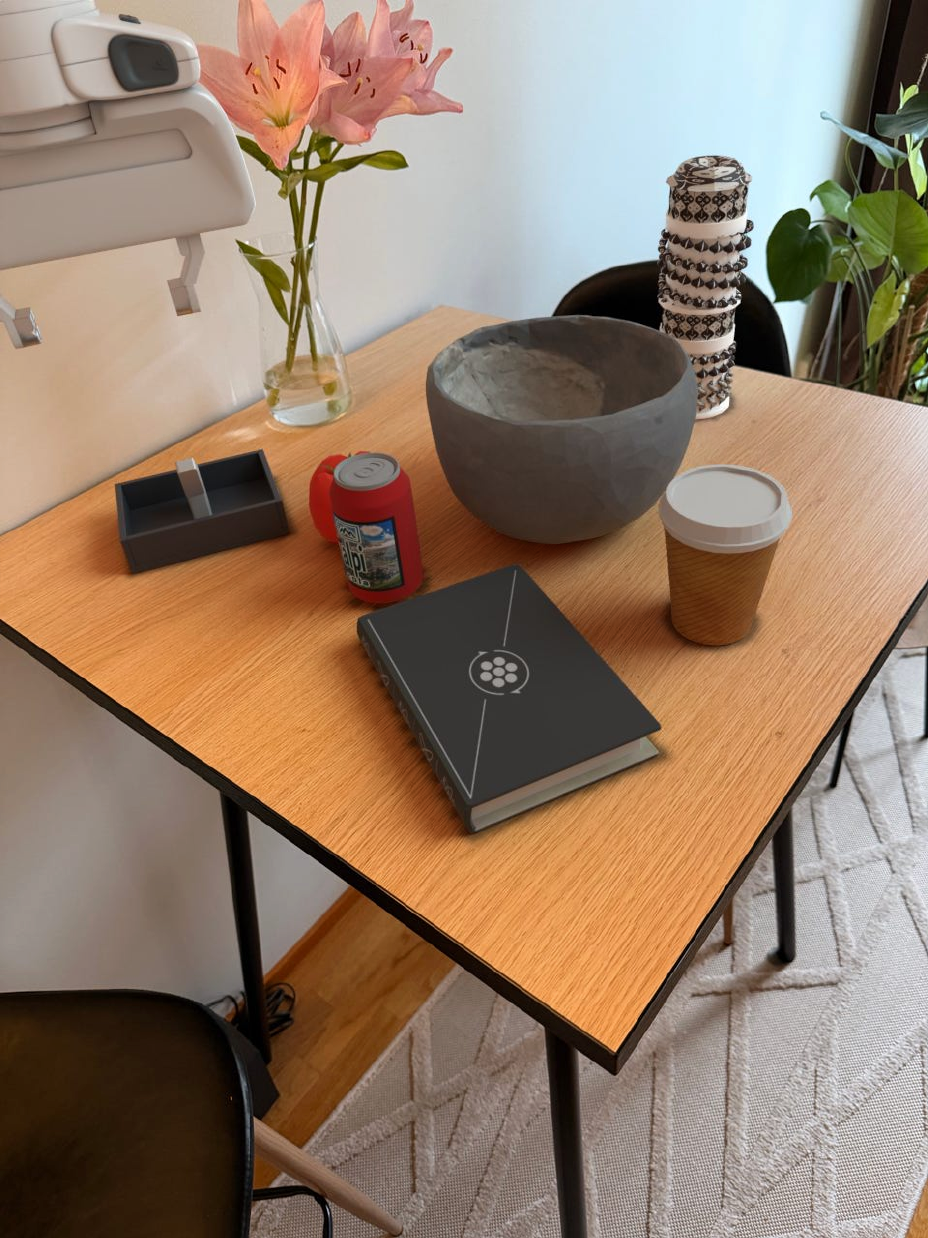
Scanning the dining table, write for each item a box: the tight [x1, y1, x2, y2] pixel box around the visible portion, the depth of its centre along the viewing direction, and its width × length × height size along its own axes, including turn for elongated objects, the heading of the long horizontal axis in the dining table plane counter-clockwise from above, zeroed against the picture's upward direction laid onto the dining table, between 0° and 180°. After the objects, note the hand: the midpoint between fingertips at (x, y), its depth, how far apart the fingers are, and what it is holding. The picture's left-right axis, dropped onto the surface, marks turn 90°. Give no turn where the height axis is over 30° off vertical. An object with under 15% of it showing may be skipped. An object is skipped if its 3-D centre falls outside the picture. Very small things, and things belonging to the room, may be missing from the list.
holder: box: [114, 448, 291, 575], centre depth 90 cm, size 15×11×4 cm
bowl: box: [425, 314, 698, 545], centre depth 84 cm, size 24×24×15 cm
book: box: [356, 562, 663, 835], centre depth 68 cm, size 22×15×3 cm
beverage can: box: [329, 452, 424, 604], centre depth 77 cm, size 7×7×12 cm
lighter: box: [174, 457, 212, 519], centre depth 88 cm, size 7×2×8 cm, turn 19°
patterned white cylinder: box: [657, 155, 755, 421], centre depth 95 cm, size 9×9×25 cm
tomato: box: [308, 450, 372, 544], centre depth 85 cm, size 9×9×8 cm
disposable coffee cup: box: [657, 463, 793, 646], centre depth 70 cm, size 10×10×12 cm
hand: (110, 327), depth 55 cm, fingers open, 8 cm apart
